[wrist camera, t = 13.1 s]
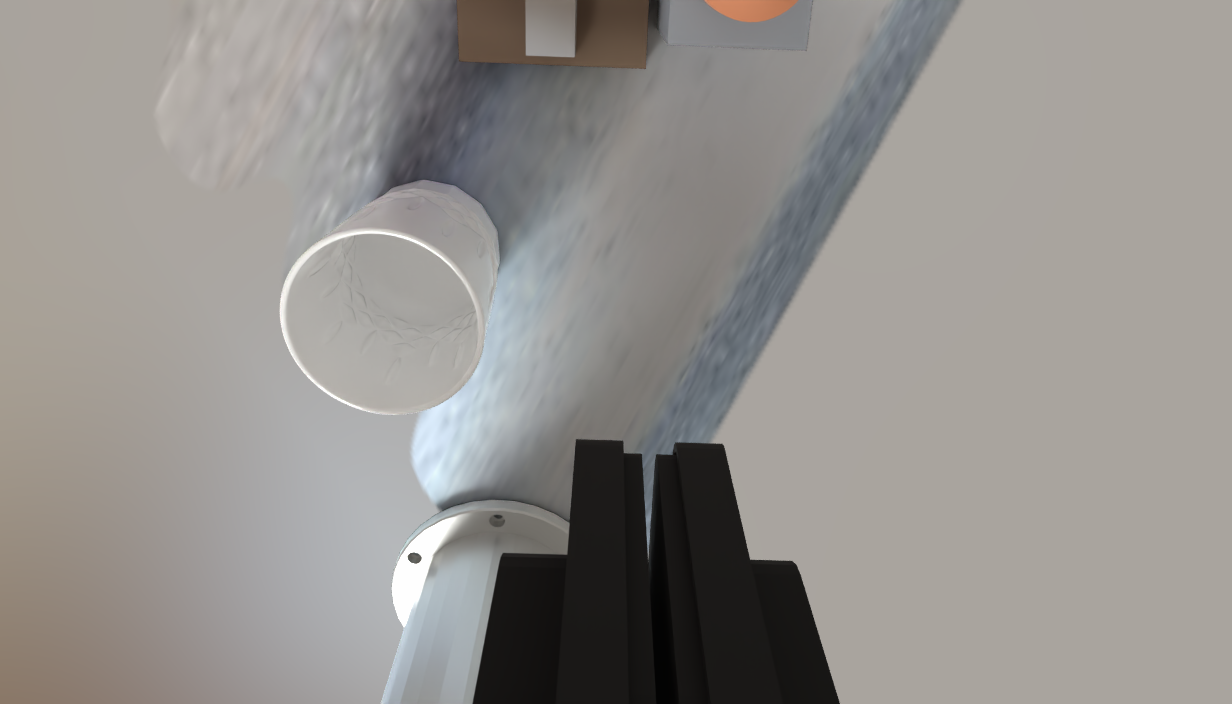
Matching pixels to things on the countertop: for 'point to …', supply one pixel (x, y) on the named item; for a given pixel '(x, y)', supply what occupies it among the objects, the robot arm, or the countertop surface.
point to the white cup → (395, 300)
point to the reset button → (751, 8)
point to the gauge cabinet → (732, 27)
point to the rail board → (597, 33)
